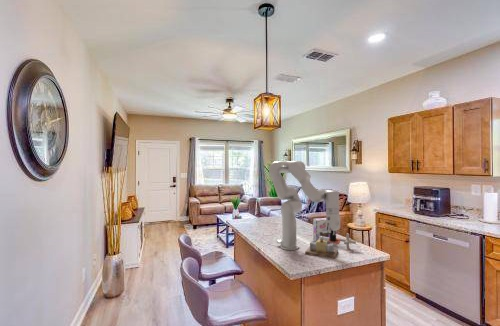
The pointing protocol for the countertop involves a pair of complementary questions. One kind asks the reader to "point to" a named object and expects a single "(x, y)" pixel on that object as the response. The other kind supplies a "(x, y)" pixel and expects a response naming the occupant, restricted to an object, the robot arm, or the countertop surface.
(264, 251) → the countertop surface
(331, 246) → the ball valve
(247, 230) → the countertop surface
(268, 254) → the countertop surface
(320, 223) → the candy box
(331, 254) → the board
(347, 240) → the beige crossed-rod piece
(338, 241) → the lever
